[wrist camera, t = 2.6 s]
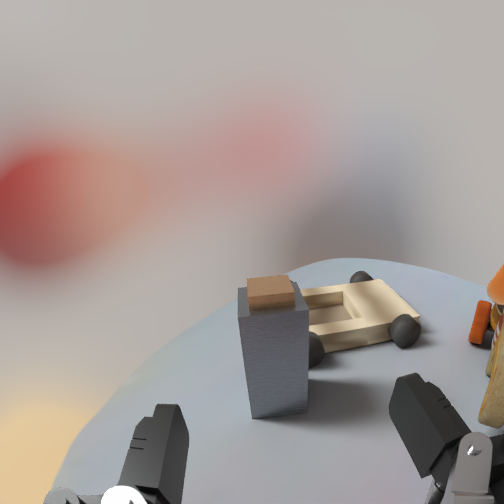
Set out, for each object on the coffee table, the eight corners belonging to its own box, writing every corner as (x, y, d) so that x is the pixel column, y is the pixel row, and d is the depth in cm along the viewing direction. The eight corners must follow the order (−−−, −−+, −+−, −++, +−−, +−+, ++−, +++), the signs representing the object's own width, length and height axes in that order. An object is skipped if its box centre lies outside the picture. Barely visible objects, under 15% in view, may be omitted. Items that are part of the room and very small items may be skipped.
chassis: (374, 288, 41) (375, 269, 40) (424, 342, 27) (429, 317, 26) (268, 302, 41) (267, 281, 40) (283, 370, 27) (281, 344, 26)
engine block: (297, 378, 25) (295, 269, 22) (306, 412, 21) (308, 295, 18) (250, 383, 25) (236, 276, 22) (252, 418, 21) (236, 303, 18)
